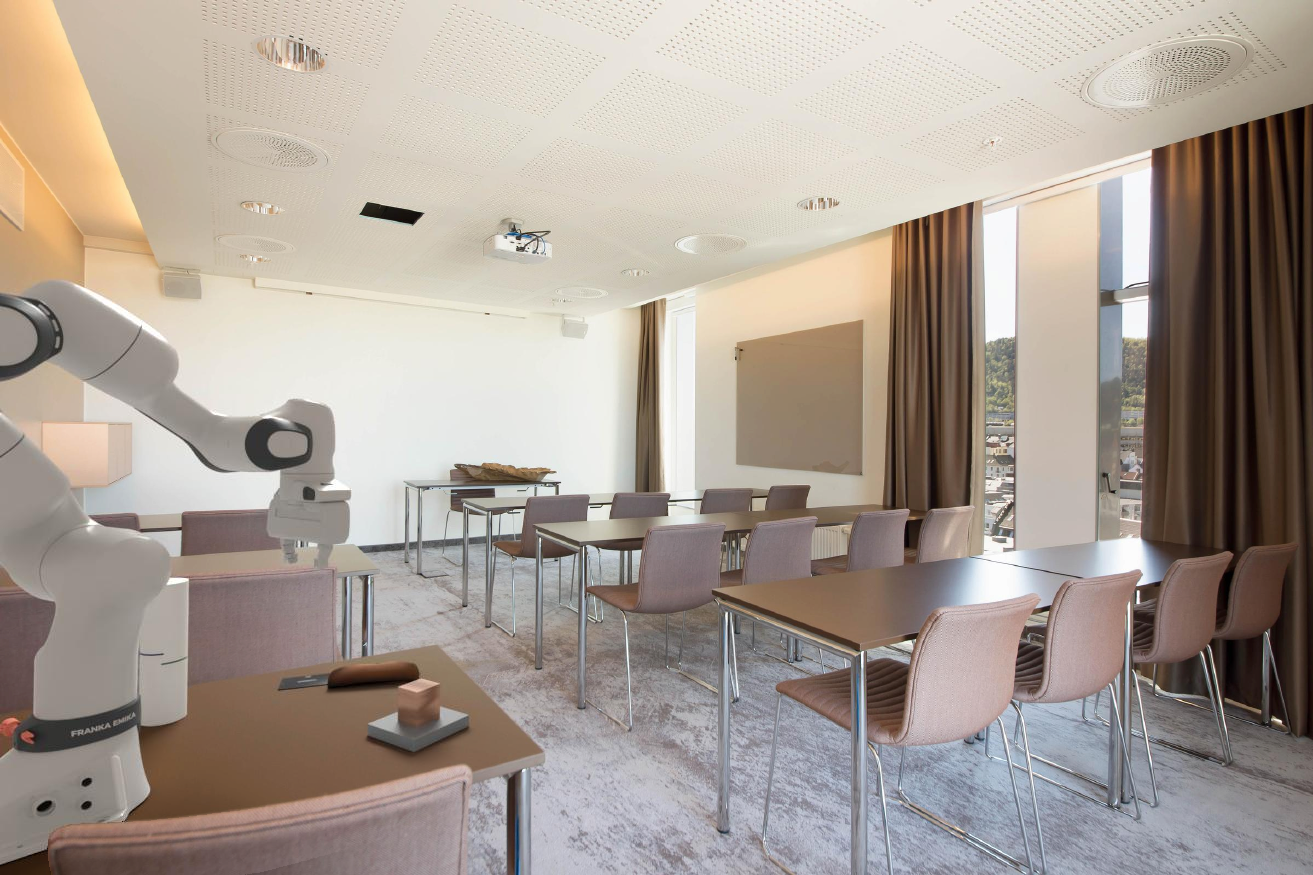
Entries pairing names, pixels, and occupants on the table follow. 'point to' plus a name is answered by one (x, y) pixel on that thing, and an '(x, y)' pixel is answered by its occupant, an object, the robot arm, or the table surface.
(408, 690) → the terracotta block
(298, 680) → the solid state drive
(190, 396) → the robot arm
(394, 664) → the sunglasses case
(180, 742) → the table surface
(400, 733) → the slate base
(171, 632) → the cylindrical container
